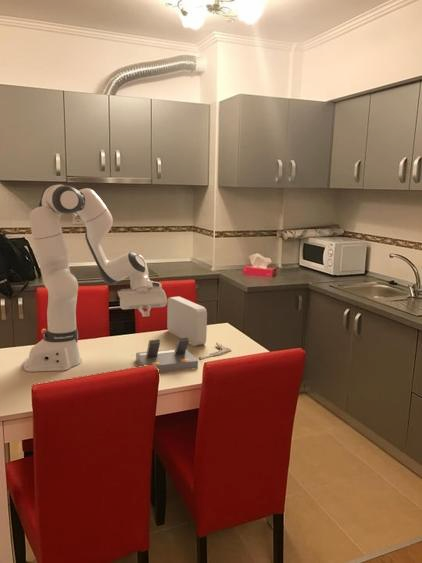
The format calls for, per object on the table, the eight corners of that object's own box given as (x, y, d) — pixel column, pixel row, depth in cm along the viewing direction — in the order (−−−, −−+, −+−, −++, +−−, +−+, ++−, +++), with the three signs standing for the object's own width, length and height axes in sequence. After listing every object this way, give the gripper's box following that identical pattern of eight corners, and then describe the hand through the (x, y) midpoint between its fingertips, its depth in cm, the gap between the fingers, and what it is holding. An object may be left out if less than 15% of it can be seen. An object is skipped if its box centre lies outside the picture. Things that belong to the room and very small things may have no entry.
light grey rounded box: (210, 344, 216) (211, 307, 213) (196, 347, 212) (197, 309, 209) (180, 328, 240) (180, 294, 236) (167, 330, 235) (167, 296, 232)
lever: (174, 355, 193) (178, 342, 186) (173, 352, 194) (177, 338, 187) (185, 354, 194) (189, 341, 188) (184, 351, 196) (188, 337, 189)
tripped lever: (146, 358, 189) (149, 344, 182) (145, 355, 190) (148, 340, 183) (157, 357, 190) (160, 342, 184) (156, 354, 191) (159, 339, 185)
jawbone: (234, 350, 213) (234, 346, 212) (217, 366, 194) (217, 361, 194) (216, 345, 216) (216, 341, 215) (197, 360, 197) (198, 356, 197)
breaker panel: (144, 374, 180) (144, 366, 180) (136, 359, 195) (136, 352, 194) (197, 368, 188) (197, 360, 187) (185, 354, 203) (186, 347, 202)
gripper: (118, 285, 197) (122, 313, 190) (164, 283, 204) (170, 310, 197) (116, 293, 202) (120, 321, 195) (162, 291, 209) (167, 317, 202)
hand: (146, 315), depth 196 cm, fingers closed
